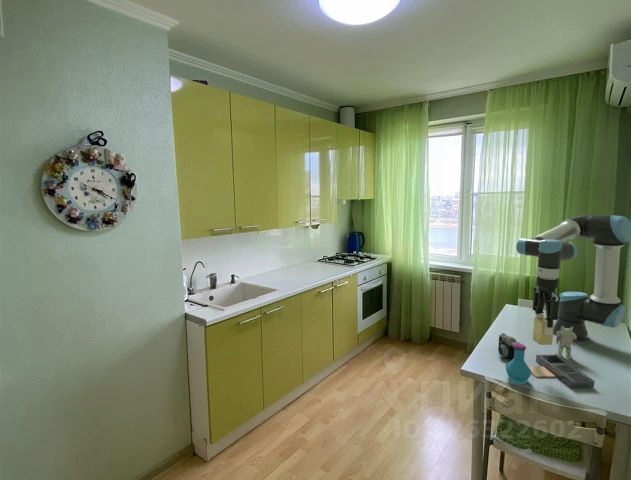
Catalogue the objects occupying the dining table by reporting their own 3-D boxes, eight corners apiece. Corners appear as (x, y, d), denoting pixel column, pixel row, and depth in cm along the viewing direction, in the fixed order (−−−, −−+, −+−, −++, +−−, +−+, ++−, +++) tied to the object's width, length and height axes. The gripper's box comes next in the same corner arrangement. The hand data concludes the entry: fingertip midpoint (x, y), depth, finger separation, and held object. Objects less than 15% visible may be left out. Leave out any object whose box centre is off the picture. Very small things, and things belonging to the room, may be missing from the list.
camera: (490, 349, 170) (491, 330, 169) (504, 349, 170) (505, 329, 169) (508, 364, 156) (509, 343, 154) (523, 364, 156) (524, 343, 154)
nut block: (544, 339, 149) (546, 317, 147) (552, 344, 144) (554, 321, 142) (532, 339, 149) (534, 317, 147) (539, 344, 144) (541, 321, 142)
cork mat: (543, 367, 152) (543, 366, 152) (555, 377, 144) (555, 376, 144) (524, 367, 152) (525, 366, 152) (536, 377, 144) (536, 376, 144)
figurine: (578, 358, 160) (581, 327, 158) (568, 362, 156) (571, 330, 154) (560, 351, 167) (562, 321, 165) (550, 355, 163) (552, 324, 161)
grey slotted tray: (555, 360, 158) (556, 354, 158) (593, 388, 136) (594, 380, 136) (535, 360, 158) (536, 354, 158) (570, 388, 136) (571, 381, 136)
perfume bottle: (500, 374, 148) (502, 340, 145) (520, 373, 148) (523, 339, 146) (514, 386, 138) (516, 351, 136) (535, 385, 139) (538, 349, 137)
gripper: (525, 272, 151) (521, 323, 154) (553, 283, 133) (548, 340, 137) (542, 272, 151) (538, 323, 154) (572, 283, 133) (567, 340, 137)
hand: (543, 331), depth 146 cm, fingers closed on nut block, 5 cm apart
